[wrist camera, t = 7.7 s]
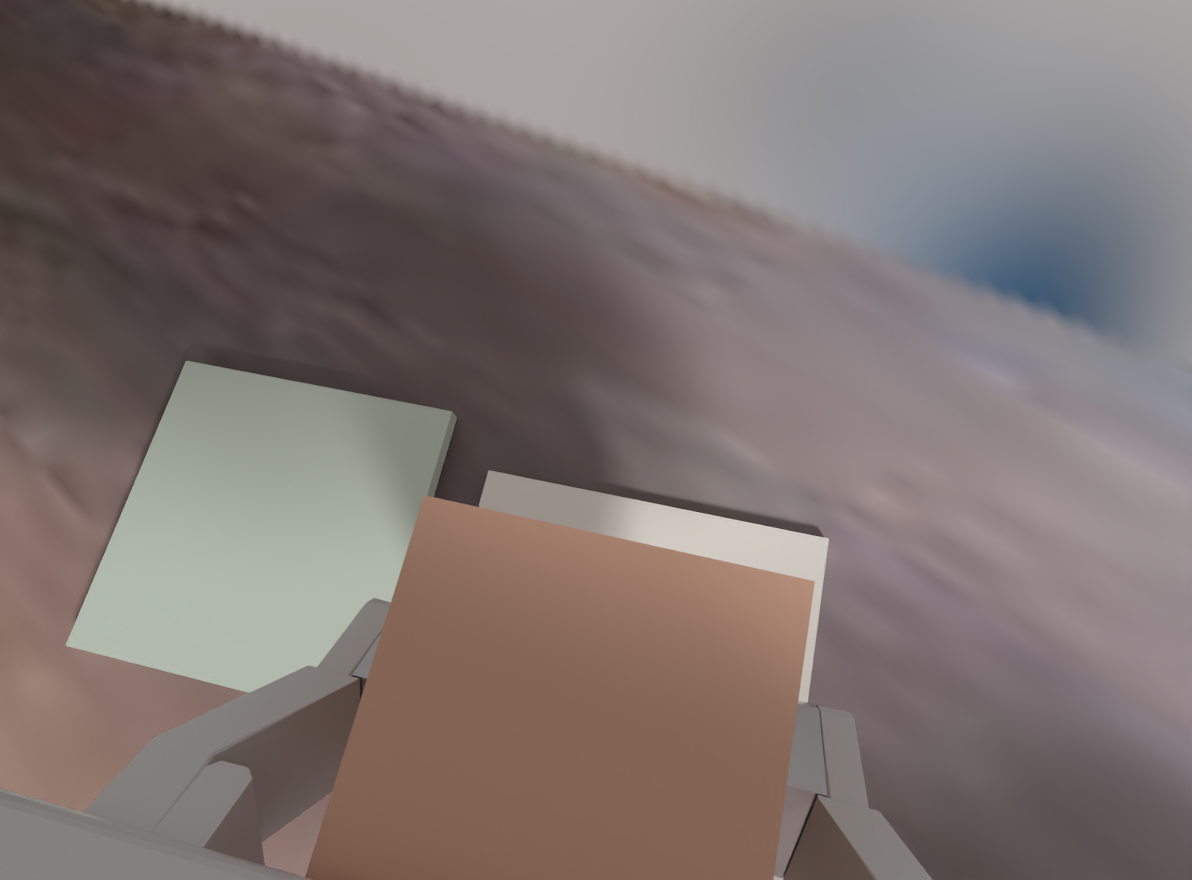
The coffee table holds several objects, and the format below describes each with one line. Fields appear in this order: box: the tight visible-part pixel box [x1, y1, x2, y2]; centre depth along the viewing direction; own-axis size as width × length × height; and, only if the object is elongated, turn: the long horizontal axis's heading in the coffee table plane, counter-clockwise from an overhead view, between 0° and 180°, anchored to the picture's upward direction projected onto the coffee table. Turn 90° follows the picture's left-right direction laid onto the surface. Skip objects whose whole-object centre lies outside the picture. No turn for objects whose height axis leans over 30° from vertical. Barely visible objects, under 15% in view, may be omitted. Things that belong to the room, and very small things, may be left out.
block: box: [306, 495, 815, 880], centre depth 12 cm, size 4×4×9 cm
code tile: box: [479, 470, 829, 880], centre depth 20 cm, size 10×10×1 cm
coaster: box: [66, 361, 457, 693], centre depth 22 cm, size 9×9×1 cm
